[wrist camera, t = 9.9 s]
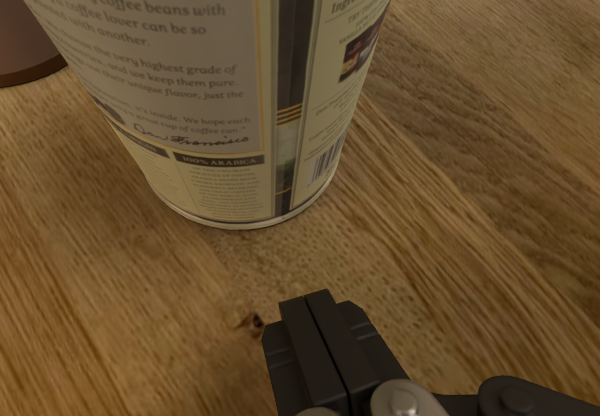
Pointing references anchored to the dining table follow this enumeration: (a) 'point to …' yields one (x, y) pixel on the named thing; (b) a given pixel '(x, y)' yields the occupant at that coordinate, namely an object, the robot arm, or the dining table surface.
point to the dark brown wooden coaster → (24, 46)
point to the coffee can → (223, 94)
